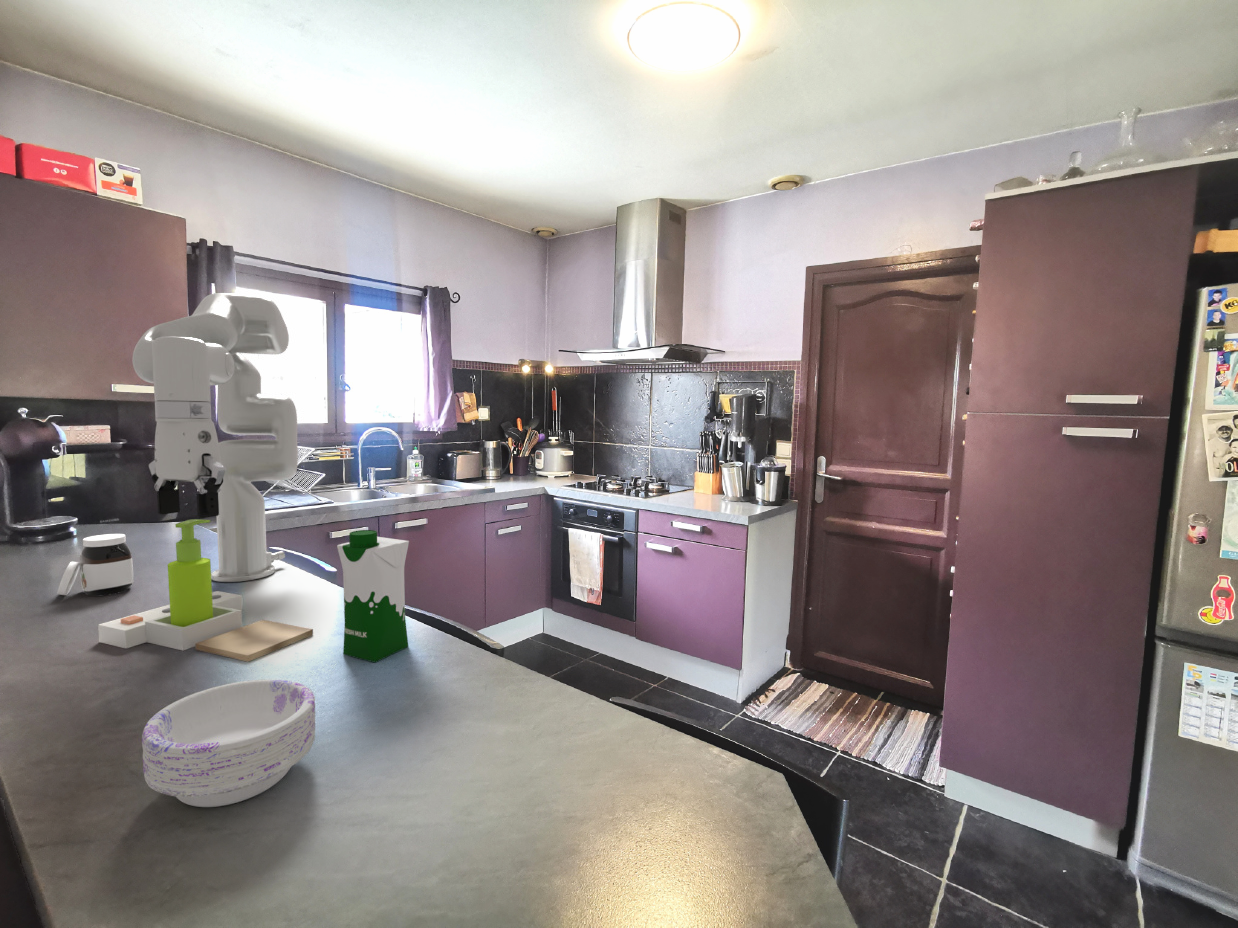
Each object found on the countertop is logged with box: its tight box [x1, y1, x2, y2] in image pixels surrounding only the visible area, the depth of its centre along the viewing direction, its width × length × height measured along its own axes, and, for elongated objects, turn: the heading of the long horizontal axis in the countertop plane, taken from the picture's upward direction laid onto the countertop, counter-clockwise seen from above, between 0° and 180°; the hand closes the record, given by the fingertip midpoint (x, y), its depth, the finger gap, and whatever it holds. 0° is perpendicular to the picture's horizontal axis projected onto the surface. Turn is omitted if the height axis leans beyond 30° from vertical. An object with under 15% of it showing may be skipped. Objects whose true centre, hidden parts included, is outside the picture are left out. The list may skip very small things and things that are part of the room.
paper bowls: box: [141, 678, 316, 808], centre depth 63 cm, size 15×15×8 cm
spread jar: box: [57, 533, 134, 597], centre depth 124 cm, size 12×11×12 cm
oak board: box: [194, 619, 314, 662], centre depth 99 cm, size 12×12×1 cm
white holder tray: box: [97, 590, 244, 652], centre depth 105 cm, size 20×16×4 cm
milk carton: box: [337, 529, 410, 663], centre depth 96 cm, size 9×9×20 cm
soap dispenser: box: [167, 518, 213, 627], centre depth 101 cm, size 6×7×20 cm
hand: (188, 514), depth 100 cm, fingers open, 9 cm apart
